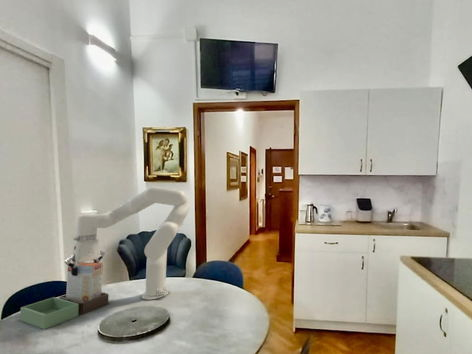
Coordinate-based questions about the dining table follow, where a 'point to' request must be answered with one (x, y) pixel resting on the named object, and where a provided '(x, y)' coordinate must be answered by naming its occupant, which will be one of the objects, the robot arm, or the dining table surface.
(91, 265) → the cracker box
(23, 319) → the bin
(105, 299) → the crate
